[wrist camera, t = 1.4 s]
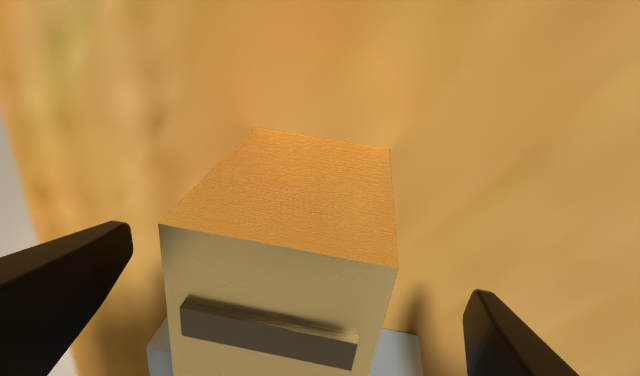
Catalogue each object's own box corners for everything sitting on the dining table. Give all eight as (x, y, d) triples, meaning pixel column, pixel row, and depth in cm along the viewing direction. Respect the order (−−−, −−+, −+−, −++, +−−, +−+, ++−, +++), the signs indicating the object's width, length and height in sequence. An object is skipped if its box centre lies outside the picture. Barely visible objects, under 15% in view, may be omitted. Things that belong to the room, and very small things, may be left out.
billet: (389, 148, 12) (399, 276, 6) (365, 257, 14) (356, 427, 8) (255, 126, 12) (152, 229, 7) (251, 236, 14) (169, 386, 9)
